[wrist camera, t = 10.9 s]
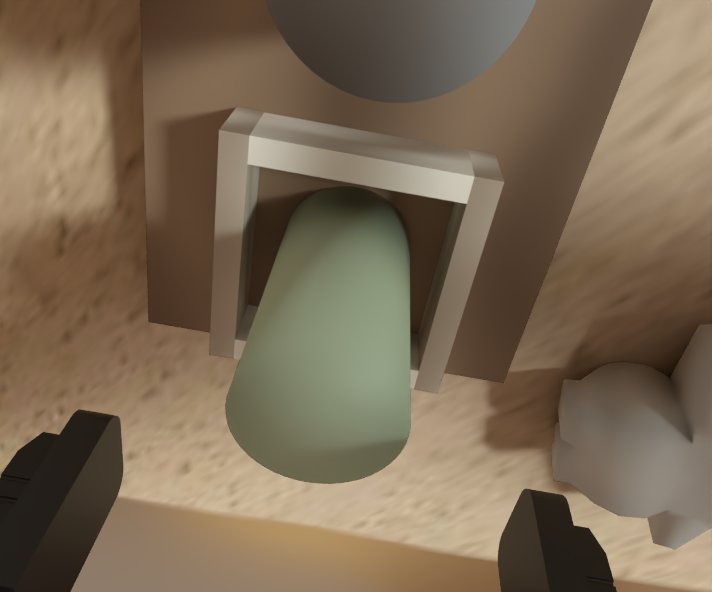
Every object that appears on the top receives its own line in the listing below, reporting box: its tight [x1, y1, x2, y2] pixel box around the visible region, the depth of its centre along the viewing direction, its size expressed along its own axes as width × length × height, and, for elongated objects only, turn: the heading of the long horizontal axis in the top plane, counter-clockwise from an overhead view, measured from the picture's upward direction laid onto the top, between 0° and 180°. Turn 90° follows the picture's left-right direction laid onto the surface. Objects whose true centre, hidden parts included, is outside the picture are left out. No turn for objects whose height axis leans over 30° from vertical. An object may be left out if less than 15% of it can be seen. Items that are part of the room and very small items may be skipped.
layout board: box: [141, 0, 653, 393], centre depth 15 cm, size 13×18×10 cm
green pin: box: [225, 186, 411, 484], centre depth 17 cm, size 4×4×8 cm
